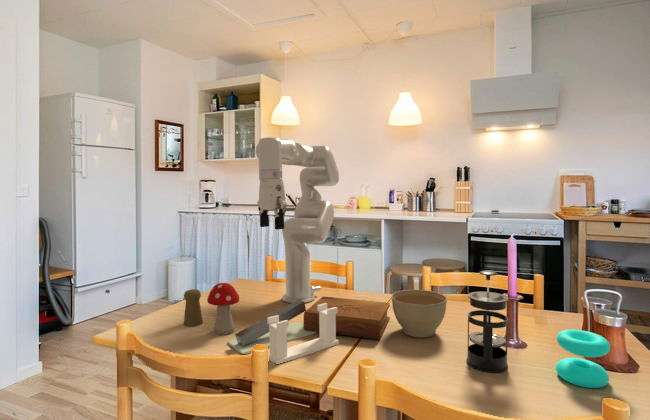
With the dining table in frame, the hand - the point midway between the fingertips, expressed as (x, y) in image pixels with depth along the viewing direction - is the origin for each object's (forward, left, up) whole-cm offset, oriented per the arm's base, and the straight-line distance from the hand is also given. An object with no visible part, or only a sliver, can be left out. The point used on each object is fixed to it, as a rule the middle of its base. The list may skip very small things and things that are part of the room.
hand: (271, 227), depth 129 cm
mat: (+9, +15, -30) cm, 35 cm away
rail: (+9, +15, -27) cm, 32 cm away
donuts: (-33, +80, -31) cm, 92 cm away
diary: (-14, +22, -30) cm, 40 cm away
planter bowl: (-27, +39, -31) cm, 56 cm away
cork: (+23, -12, -31) cm, 40 cm away
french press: (-23, +63, -31) cm, 74 cm away
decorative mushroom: (+18, +1, -31) cm, 35 cm away
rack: (+7, +28, -30) cm, 42 cm away
